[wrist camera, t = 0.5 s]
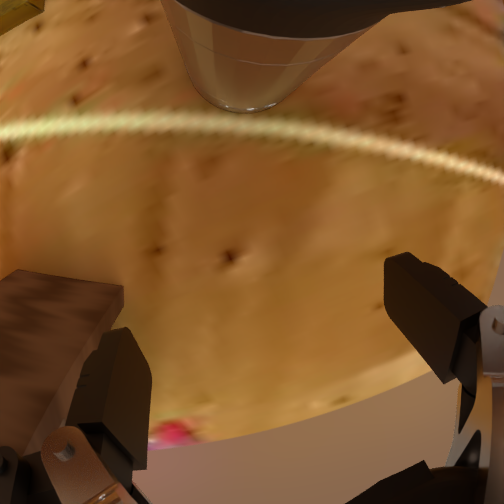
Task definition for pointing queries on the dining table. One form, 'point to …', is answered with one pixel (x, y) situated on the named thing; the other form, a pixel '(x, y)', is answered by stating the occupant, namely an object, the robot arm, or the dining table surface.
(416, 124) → the dining table surface
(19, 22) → the medication box
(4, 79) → the dining table surface
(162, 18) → the dining table surface
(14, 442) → the walnut stand
